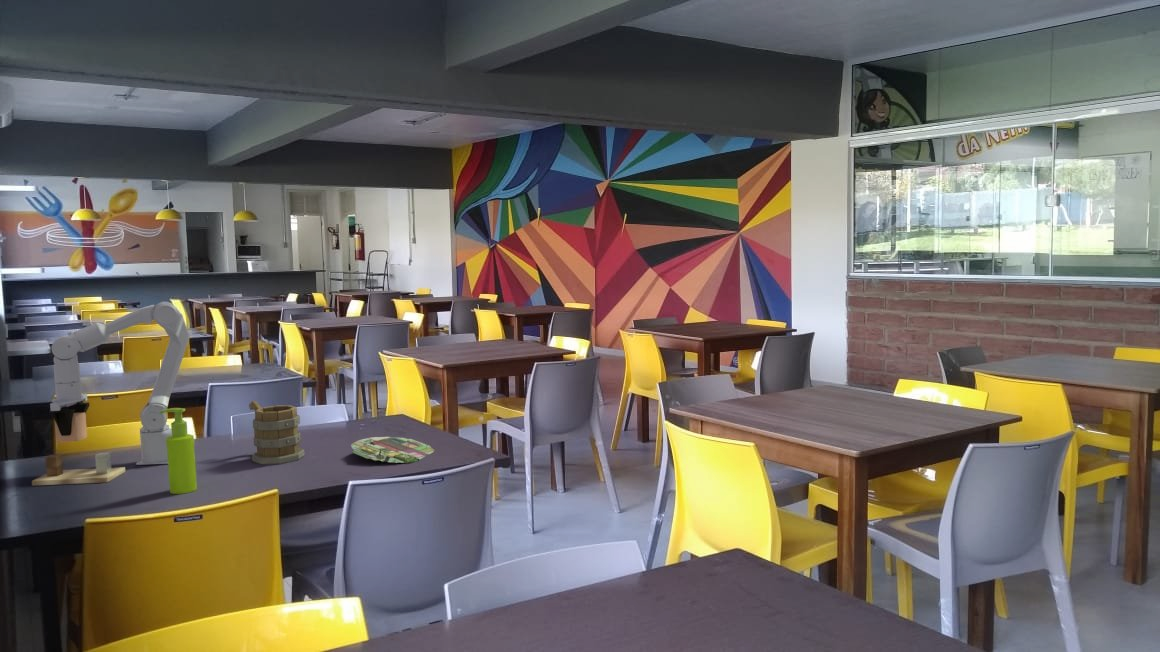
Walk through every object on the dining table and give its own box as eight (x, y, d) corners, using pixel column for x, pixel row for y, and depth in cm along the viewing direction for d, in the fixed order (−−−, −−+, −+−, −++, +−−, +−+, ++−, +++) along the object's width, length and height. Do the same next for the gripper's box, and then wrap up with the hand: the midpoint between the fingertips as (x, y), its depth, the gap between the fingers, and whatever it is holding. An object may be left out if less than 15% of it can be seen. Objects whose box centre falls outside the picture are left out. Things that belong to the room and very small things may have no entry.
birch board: (125, 471, 219) (125, 467, 219) (107, 482, 209) (107, 477, 209) (53, 474, 218) (53, 470, 218) (32, 485, 208) (31, 480, 208)
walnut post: (63, 473, 214) (61, 454, 214) (57, 476, 212) (56, 456, 211) (52, 473, 214) (50, 454, 214) (47, 476, 211) (45, 457, 211)
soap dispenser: (171, 487, 203) (165, 406, 201) (200, 486, 204) (195, 405, 202) (161, 494, 197) (155, 411, 195) (191, 493, 198) (185, 410, 196)
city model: (414, 477, 216) (416, 454, 215) (331, 463, 220) (333, 441, 220) (448, 455, 240) (450, 434, 240) (373, 443, 245) (375, 423, 244)
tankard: (311, 457, 230) (308, 404, 229) (267, 466, 221) (264, 411, 219) (276, 446, 244) (273, 396, 242) (234, 455, 234) (230, 403, 233)
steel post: (111, 471, 215) (110, 452, 215) (107, 473, 213) (105, 454, 212) (101, 471, 215) (99, 452, 215) (96, 474, 213) (94, 455, 212)
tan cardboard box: (87, 436, 222) (85, 412, 222) (77, 441, 217) (75, 416, 217) (66, 437, 222) (65, 413, 221) (56, 442, 217) (54, 417, 216)
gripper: (66, 378, 225) (70, 427, 226) (36, 387, 211) (40, 439, 212) (93, 377, 226) (97, 426, 227) (65, 386, 211) (69, 438, 212)
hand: (71, 432), depth 219 cm, fingers closed on tan cardboard box, 5 cm apart
